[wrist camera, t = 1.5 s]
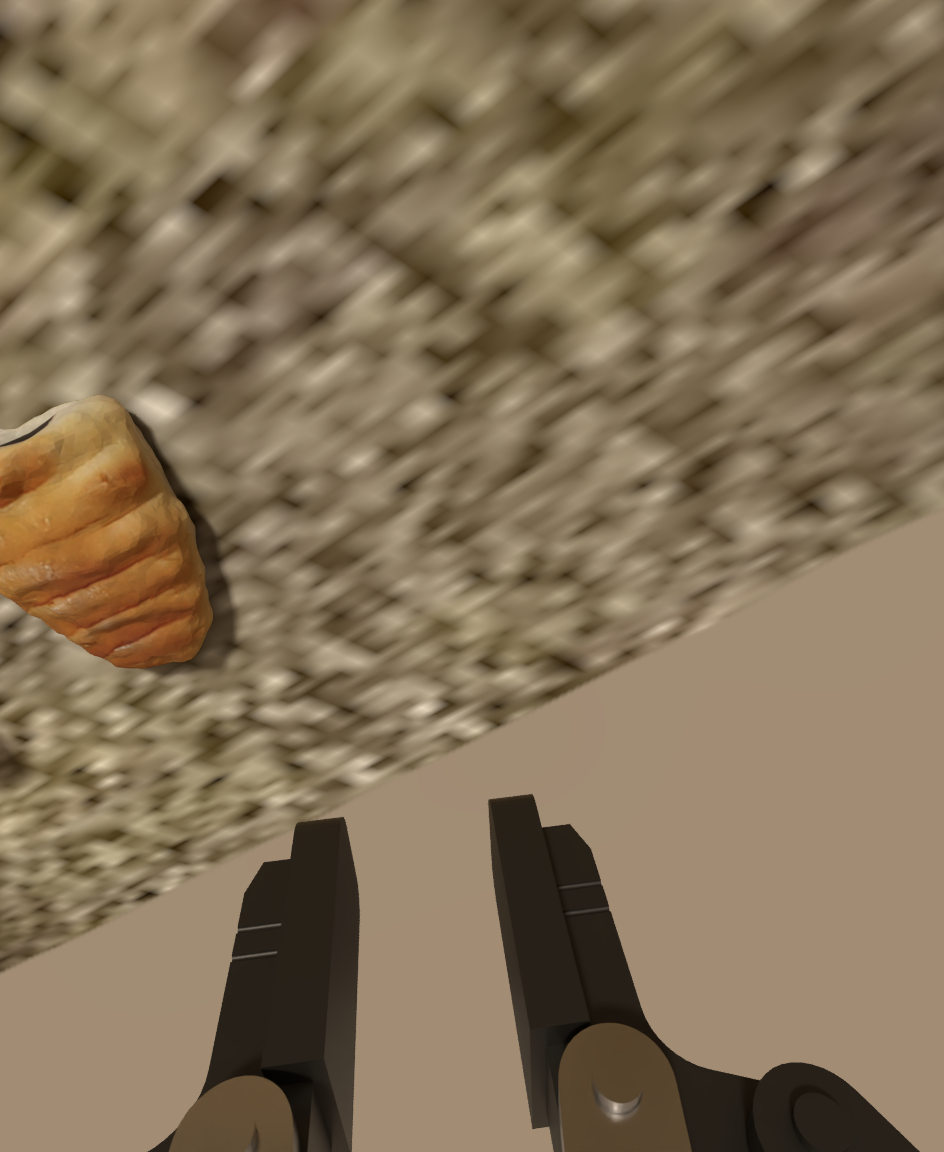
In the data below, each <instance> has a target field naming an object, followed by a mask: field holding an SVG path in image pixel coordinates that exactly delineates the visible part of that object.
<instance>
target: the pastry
mask: <svg viewBox="0 0 944 1152" xmlns="http://www.w3.org/2000/svg"><path fill="white" fill-rule="evenodd" d="M0 593H1V594H2V595H4V596H5V597H7V598H9V599H10V600H12V601H13V602H15V603H16V604H17V605H19V606H20V607H21V608H22V609H24V610H25V611H26V612H27V613H28V614H30V615H32V616H35V617H37V618H40V619H42V620H43V621H44V622H45V623H46V624H47V625H48V626H50V627H51V628H52V629H54V630H55V631H56V632H57V633H59V634H63V635H65V636H66V637H67V638H68V639H69V640H70V641H72V642H74V643H76V644H78V645H80V646H81V647H83V648H84V649H85V650H86V651H87V652H89V653H90V654H92V655H94V656H98V657H101V658H103V659H105V660H108V661H109V662H111V663H112V664H113V665H114V666H116V667H121V668H140V669H142V668H148V667H153V666H159V665H163V664H167V663H170V662H185V661H187V660H190V659H192V658H193V657H195V656H196V654H197V653H198V651H199V650H200V648H201V646H202V643H203V641H204V639H205V636H206V633H207V632H208V630H209V628H210V626H211V623H212V621H213V611H212V608H211V605H210V603H209V595H208V590H207V588H206V586H205V566H204V564H203V562H202V560H201V557H200V554H199V551H198V549H197V545H196V534H195V525H194V524H193V522H192V521H191V519H190V517H189V514H188V512H187V510H186V509H185V507H184V505H183V504H182V502H181V501H180V500H178V499H177V497H176V495H175V493H174V492H173V490H172V488H171V487H170V485H169V483H168V480H167V478H166V476H165V474H164V471H163V468H162V466H161V464H160V462H159V460H158V459H157V457H156V456H155V454H154V452H153V450H152V449H151V447H150V446H149V444H148V443H147V441H146V440H145V438H144V436H143V434H142V432H141V431H140V430H139V428H138V427H137V426H136V425H135V424H134V423H133V420H132V418H131V416H130V415H129V413H128V412H127V410H126V409H125V408H124V407H123V406H122V405H121V404H120V402H119V401H117V400H115V399H113V398H110V397H107V396H102V395H96V396H92V397H89V398H87V399H84V400H81V401H73V402H69V403H64V404H62V405H59V406H57V407H54V408H52V409H50V410H48V411H47V412H45V413H44V414H42V415H40V416H37V417H35V418H33V419H32V420H30V421H28V422H27V423H25V424H23V425H22V426H21V427H19V428H17V429H8V430H3V429H0Z"/></svg>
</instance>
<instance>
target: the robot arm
mask: <svg viewBox="0 0 944 1152" xmlns="http://www.w3.org/2000/svg"><path fill="white" fill-rule="evenodd" d="M488 805H489V822H490V839H491V855H492V870H493V879H494V888H495V895H496V902H497V908H498V915H499V921H500V927H501V933H502V940H503V946H504V953H505V959H506V965H507V971H508V978H509V984H510V990H511V996H512V1003H513V1009H514V1015H515V1022H516V1028H517V1034H518V1041H519V1046H520V1053H521V1059H522V1065H523V1072H524V1078H525V1084H526V1091H527V1097H528V1104H529V1110H530V1116H531V1122H532V1129H536V1128H542V1127H550V1133H551V1139H552V1144H553V1150H554V1152H920V1151H919V1150H917V1149H916V1148H915V1147H914V1146H913V1145H912V1144H911V1143H910V1142H909V1141H908V1140H907V1139H906V1138H905V1137H904V1136H903V1135H902V1134H901V1133H900V1132H899V1131H898V1130H896V1128H895V1127H894V1126H893V1125H892V1124H890V1123H889V1122H888V1121H887V1120H886V1119H885V1118H884V1117H883V1116H882V1115H881V1114H880V1113H879V1112H878V1111H877V1110H876V1109H875V1108H874V1107H873V1106H872V1105H871V1104H870V1103H869V1102H867V1100H866V1099H864V1098H863V1097H862V1096H861V1095H860V1094H859V1093H858V1092H857V1091H856V1090H855V1089H854V1088H853V1087H852V1086H850V1085H849V1084H848V1083H847V1082H846V1081H844V1080H843V1079H841V1078H840V1077H838V1076H837V1075H835V1074H834V1073H832V1072H830V1071H828V1070H826V1069H824V1068H821V1067H818V1066H815V1065H812V1064H806V1063H786V1064H781V1065H779V1066H777V1067H774V1068H773V1069H771V1070H770V1071H769V1072H767V1073H766V1074H765V1075H764V1076H763V1078H762V1079H761V1080H756V1079H751V1078H746V1077H742V1076H737V1075H733V1074H729V1073H724V1072H719V1071H714V1070H710V1069H707V1068H703V1067H700V1066H697V1065H695V1064H693V1063H691V1062H688V1061H686V1060H685V1059H683V1058H682V1057H680V1056H678V1055H677V1054H675V1053H674V1052H673V1051H672V1050H670V1049H669V1048H668V1047H667V1046H666V1045H665V1044H664V1043H663V1042H662V1041H661V1040H660V1039H659V1038H658V1037H657V1035H656V1034H655V1033H654V1032H653V1030H652V1029H651V1027H650V1025H649V1024H648V1022H647V1020H646V1018H645V1016H644V1014H643V1011H642V1008H641V1005H640V1002H639V999H638V996H637V993H636V990H635V987H634V983H633V980H632V977H631V974H630V971H629V968H628V964H627V961H626V958H625V955H624V952H623V949H622V946H621V942H620V939H619V936H618V933H617V930H616V927H615V924H614V921H613V917H612V914H611V912H610V911H609V905H608V901H607V898H606V895H605V892H604V889H603V886H602V885H601V879H600V876H599V873H598V870H597V867H596V864H595V860H594V857H593V854H592V851H591V849H590V847H589V846H588V845H587V844H586V843H585V842H584V840H583V839H582V838H581V837H580V836H579V835H578V833H577V832H576V831H575V830H574V829H573V828H572V826H571V825H570V824H567V825H559V826H552V827H543V828H542V826H541V823H540V818H539V814H538V810H537V806H536V803H535V800H534V796H533V795H532V794H529V795H521V796H513V797H505V798H497V799H490V800H489V801H488ZM359 919H360V909H359V893H358V883H357V877H356V872H355V867H354V862H353V856H352V851H351V846H350V841H349V837H348V831H347V826H346V822H345V819H344V817H341V818H340V817H339V818H331V819H323V820H315V821H307V822H299V823H297V824H296V827H295V831H294V838H293V844H292V851H291V858H290V859H287V860H279V861H272V862H264V863H263V865H262V866H261V868H260V870H259V871H258V873H257V874H256V876H255V877H254V879H253V880H252V882H251V884H250V885H249V887H248V888H247V890H246V892H245V893H244V898H243V903H242V908H241V913H240V918H239V923H238V934H236V938H235V943H234V948H233V952H232V962H231V963H230V967H229V972H228V977H227V982H226V987H225V992H224V997H223V1002H222V1007H221V1012H220V1017H219V1022H218V1027H217V1032H216V1037H215V1042H214V1047H213V1052H212V1057H211V1062H210V1066H209V1071H208V1075H207V1079H206V1082H205V1084H204V1087H203V1089H202V1092H201V1094H200V1096H199V1098H198V1100H197V1101H196V1102H195V1104H194V1105H193V1106H192V1107H191V1108H190V1110H189V1111H188V1112H187V1113H186V1115H185V1117H184V1118H183V1120H182V1121H181V1123H180V1125H179V1126H178V1128H177V1129H176V1130H175V1131H174V1132H173V1133H172V1134H170V1135H169V1136H168V1138H166V1139H165V1140H164V1141H163V1142H161V1143H160V1144H159V1145H157V1146H156V1147H155V1148H153V1149H152V1150H150V1151H148V1152H352V1125H353V1097H354V1096H353V1095H354V1065H355V1039H356V1036H355V1035H356V1010H357V981H358V952H359V924H360V923H359V921H360V920H359Z"/></svg>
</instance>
